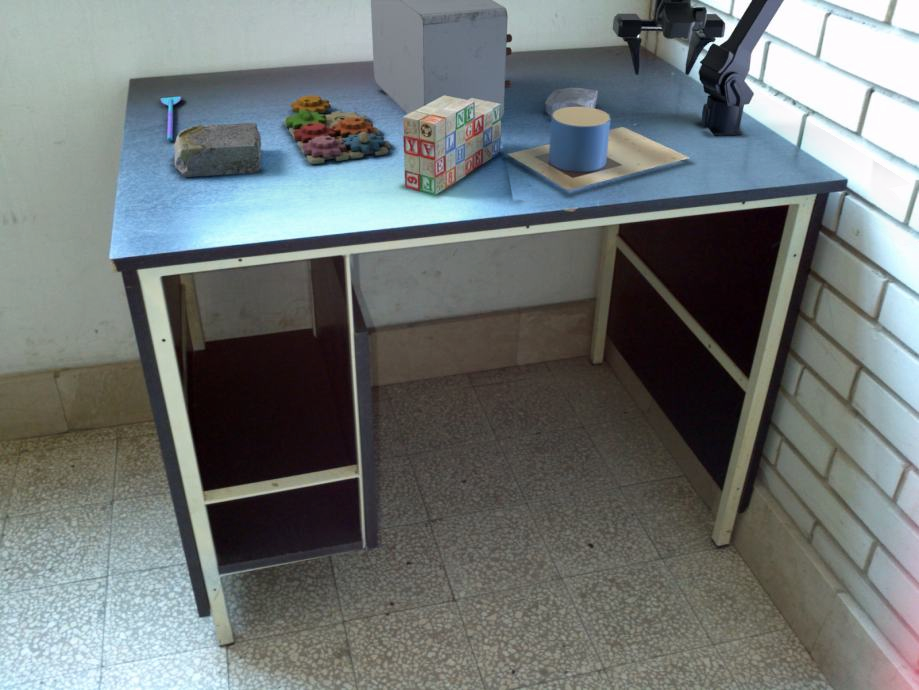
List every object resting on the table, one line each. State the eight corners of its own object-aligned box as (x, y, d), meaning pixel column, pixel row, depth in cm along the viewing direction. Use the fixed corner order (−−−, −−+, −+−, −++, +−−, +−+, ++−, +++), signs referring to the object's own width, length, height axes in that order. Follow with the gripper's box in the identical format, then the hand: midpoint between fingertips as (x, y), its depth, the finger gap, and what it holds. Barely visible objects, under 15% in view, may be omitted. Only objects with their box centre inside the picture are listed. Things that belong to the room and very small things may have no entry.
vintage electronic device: (512, 126, 172) (518, -9, 158) (424, 138, 166) (422, -2, 152) (453, 78, 196) (454, -43, 182) (374, 87, 191) (369, -37, 177)
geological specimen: (262, 144, 150) (169, 147, 146) (264, 177, 153) (174, 181, 149) (258, 120, 158) (170, 122, 154) (260, 152, 161) (174, 155, 158)
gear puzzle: (272, 109, 178) (270, 89, 176) (349, 100, 183) (348, 81, 181) (308, 166, 154) (306, 144, 152) (396, 154, 159) (395, 133, 157)
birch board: (622, 131, 170) (623, 126, 170) (689, 163, 157) (689, 157, 157) (506, 159, 158) (506, 153, 158) (568, 195, 146) (568, 189, 145)
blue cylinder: (601, 150, 159) (605, 106, 155) (610, 172, 151) (615, 126, 147) (545, 150, 159) (548, 106, 155) (551, 172, 151) (555, 126, 146)
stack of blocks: (471, 147, 163) (472, 80, 156) (500, 154, 160) (503, 86, 153) (404, 187, 148) (402, 115, 141) (435, 195, 145) (435, 122, 138)
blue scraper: (162, 98, 183) (161, 93, 182) (182, 97, 184) (181, 92, 183) (150, 143, 163) (149, 136, 162) (174, 141, 163) (172, 135, 163)
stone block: (544, 129, 175) (595, 123, 173) (541, 105, 173) (592, 98, 170) (551, 111, 185) (599, 105, 183) (548, 88, 183) (597, 82, 180)
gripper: (629, -6, 145) (618, 88, 154) (742, -6, 146) (725, 88, 154) (617, -21, 154) (607, 69, 163) (723, -21, 155) (708, 69, 164)
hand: (661, 74), depth 161 cm, fingers open, 9 cm apart
